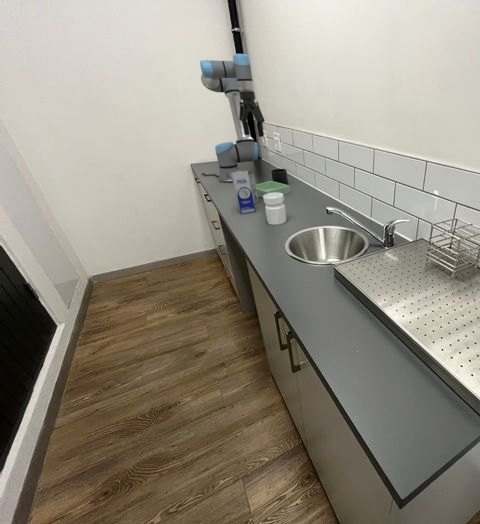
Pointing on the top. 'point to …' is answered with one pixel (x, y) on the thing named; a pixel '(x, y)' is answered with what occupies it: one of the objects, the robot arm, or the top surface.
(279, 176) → the mug
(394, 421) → the top surface
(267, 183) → the bin
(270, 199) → the white pill bottle
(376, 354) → the top surface
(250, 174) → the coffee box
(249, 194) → the milk carton
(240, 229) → the top surface
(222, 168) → the robot arm
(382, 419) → the top surface
